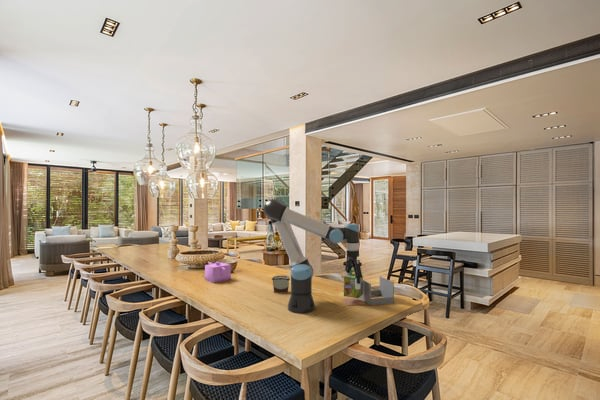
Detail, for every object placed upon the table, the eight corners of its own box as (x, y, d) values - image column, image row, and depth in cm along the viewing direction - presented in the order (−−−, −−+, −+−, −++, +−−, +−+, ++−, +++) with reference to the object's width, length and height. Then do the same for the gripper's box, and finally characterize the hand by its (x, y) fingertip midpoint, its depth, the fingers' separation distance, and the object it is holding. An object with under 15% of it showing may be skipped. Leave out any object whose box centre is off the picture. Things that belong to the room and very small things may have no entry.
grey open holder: (370, 305, 171) (370, 284, 171) (358, 297, 186) (358, 277, 187) (394, 303, 174) (393, 282, 175) (380, 295, 190) (380, 276, 190)
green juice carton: (343, 296, 175) (343, 271, 176) (348, 292, 183) (348, 268, 184) (358, 298, 171) (358, 272, 171) (363, 294, 179) (363, 269, 179)
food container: (291, 290, 203) (291, 275, 203) (290, 292, 197) (290, 277, 197) (273, 289, 204) (273, 275, 204) (271, 292, 198) (271, 277, 198)
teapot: (218, 275, 249) (218, 258, 249) (234, 280, 231) (234, 262, 231) (200, 278, 239) (200, 261, 239) (216, 284, 221) (216, 265, 221)
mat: (348, 305, 170) (348, 305, 170) (341, 299, 181) (341, 299, 181) (366, 304, 173) (366, 303, 173) (358, 298, 184) (358, 297, 184)
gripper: (367, 252, 167) (368, 291, 166) (350, 246, 190) (351, 280, 190) (355, 253, 165) (356, 292, 165) (339, 247, 189) (340, 281, 188)
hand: (353, 286), depth 177 cm, fingers closed on green juice carton, 12 cm apart
